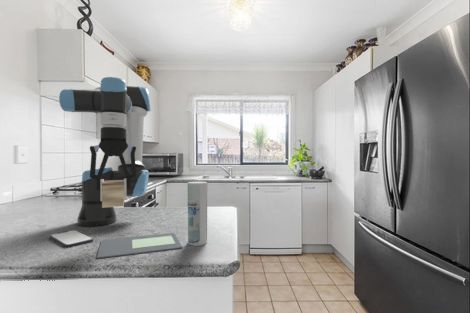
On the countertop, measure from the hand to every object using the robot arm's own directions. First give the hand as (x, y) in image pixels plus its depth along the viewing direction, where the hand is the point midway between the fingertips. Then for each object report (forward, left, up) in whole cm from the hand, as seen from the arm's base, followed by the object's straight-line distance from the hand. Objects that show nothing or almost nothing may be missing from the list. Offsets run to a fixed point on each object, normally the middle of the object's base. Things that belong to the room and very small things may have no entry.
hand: (113, 199), depth 88 cm
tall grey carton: (+7, +26, -15) cm, 30 cm away
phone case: (-12, -14, -15) cm, 24 cm away
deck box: (0, 0, -1) cm, 1 cm away
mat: (+2, +8, -15) cm, 17 cm away
